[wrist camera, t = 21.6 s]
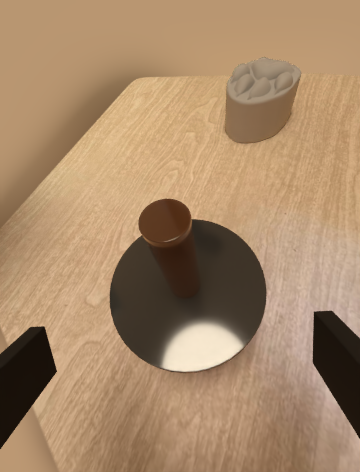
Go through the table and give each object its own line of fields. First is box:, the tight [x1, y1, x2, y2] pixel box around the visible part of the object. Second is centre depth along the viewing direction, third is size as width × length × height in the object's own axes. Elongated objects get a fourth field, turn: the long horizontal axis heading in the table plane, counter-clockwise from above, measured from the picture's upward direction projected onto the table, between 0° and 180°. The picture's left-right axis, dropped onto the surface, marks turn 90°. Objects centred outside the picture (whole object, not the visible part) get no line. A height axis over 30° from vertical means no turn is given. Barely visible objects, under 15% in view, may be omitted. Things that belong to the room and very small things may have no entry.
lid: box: [110, 199, 266, 373], centre depth 16 cm, size 13×13×10 cm
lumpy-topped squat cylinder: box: [225, 57, 301, 143], centre depth 40 cm, size 10×13×9 cm
